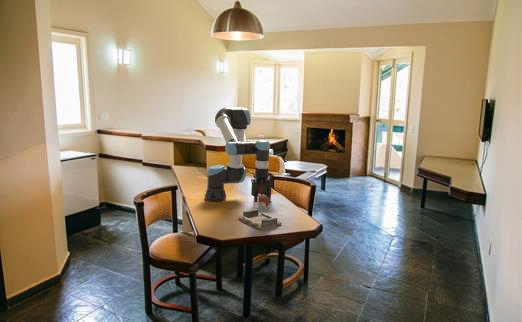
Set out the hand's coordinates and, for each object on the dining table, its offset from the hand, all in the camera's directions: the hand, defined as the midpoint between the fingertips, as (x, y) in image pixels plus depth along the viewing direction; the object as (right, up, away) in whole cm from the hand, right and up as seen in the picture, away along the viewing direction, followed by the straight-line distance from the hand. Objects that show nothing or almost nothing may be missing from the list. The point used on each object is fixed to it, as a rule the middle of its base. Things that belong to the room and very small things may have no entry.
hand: (260, 206), depth 211 cm
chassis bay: (0, -9, +2) cm, 10 cm away
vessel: (+1, -2, +43) cm, 43 cm away
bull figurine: (0, -1, 0) cm, 1 cm away
